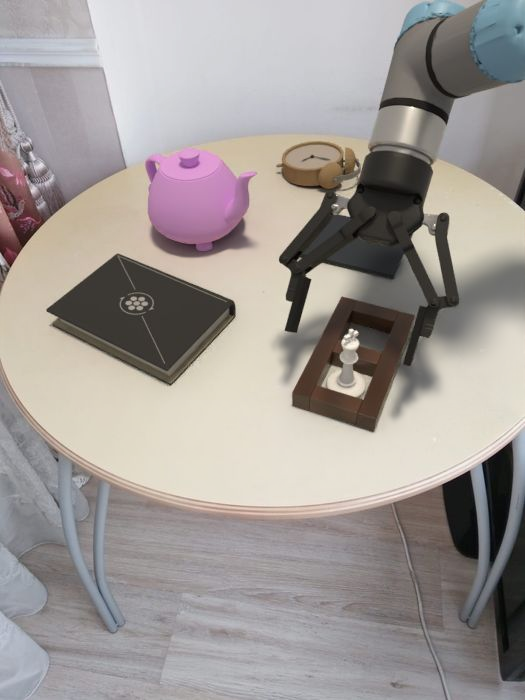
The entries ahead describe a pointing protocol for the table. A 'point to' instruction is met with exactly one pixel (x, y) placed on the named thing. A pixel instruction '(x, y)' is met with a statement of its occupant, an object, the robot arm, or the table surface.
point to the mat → (360, 252)
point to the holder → (369, 362)
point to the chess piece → (348, 370)
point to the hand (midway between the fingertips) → (346, 348)
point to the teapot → (195, 197)
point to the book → (143, 316)
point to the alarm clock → (318, 164)
